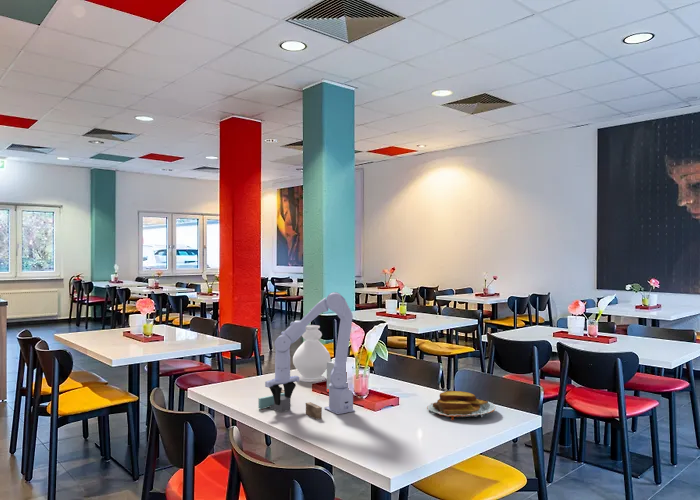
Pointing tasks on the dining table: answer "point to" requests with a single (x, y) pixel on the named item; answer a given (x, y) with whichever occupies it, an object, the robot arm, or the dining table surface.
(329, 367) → the small box
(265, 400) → the door
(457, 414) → the food on plate
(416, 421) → the dining table surface
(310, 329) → the decorative vase
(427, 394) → the dining table surface
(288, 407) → the door stop
